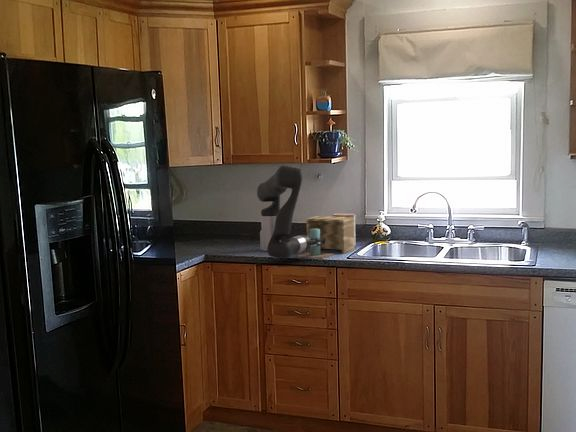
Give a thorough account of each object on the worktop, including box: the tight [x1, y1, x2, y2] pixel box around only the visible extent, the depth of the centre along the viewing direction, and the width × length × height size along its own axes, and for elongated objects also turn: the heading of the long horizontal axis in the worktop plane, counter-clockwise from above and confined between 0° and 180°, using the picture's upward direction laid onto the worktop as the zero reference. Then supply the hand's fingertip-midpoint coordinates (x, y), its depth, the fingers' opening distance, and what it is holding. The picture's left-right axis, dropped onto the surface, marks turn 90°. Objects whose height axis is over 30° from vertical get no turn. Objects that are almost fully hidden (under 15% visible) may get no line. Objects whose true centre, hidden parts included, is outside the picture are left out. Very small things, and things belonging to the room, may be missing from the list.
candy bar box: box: [331, 213, 357, 248], centre depth 354 cm, size 11×5×16 cm, turn 74°
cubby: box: [306, 215, 355, 255], centre depth 342 cm, size 20×11×16 cm, turn 59°
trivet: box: [295, 251, 335, 260], centre depth 330 cm, size 14×12×1 cm
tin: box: [309, 229, 321, 256], centre depth 329 cm, size 5×5×12 cm
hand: (316, 239), depth 330 cm, fingers open, 8 cm apart
